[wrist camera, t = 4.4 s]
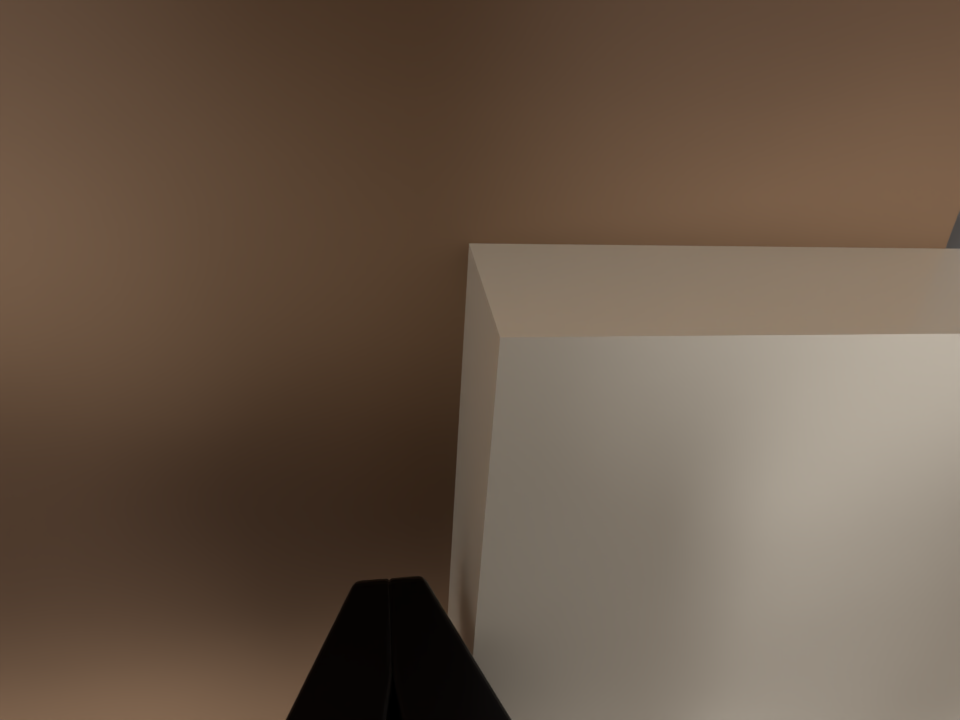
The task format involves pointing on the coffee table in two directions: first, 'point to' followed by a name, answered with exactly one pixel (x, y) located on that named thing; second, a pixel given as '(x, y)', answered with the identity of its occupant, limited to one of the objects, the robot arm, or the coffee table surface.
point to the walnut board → (358, 279)
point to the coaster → (710, 482)
